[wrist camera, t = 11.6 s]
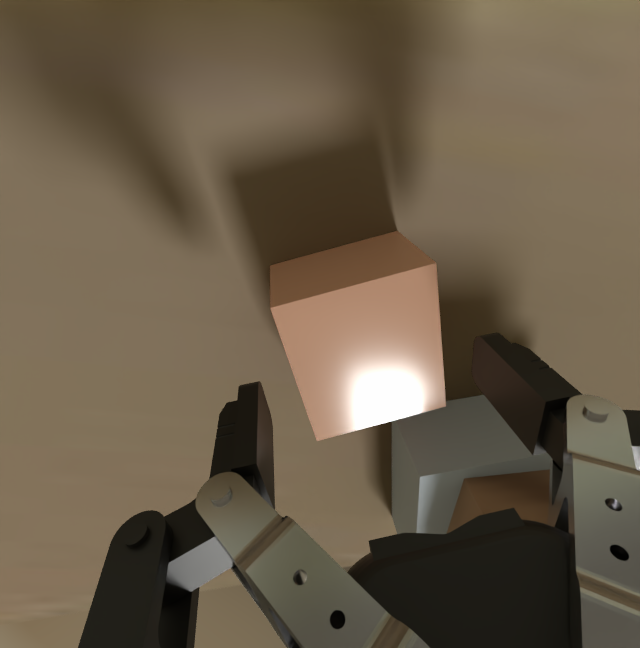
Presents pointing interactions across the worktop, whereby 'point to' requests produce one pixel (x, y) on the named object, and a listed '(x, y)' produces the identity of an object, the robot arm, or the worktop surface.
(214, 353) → the worktop surface
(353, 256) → the terracotta brick
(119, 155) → the worktop surface
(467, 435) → the base brick
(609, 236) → the worktop surface
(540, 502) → the walnut brick
